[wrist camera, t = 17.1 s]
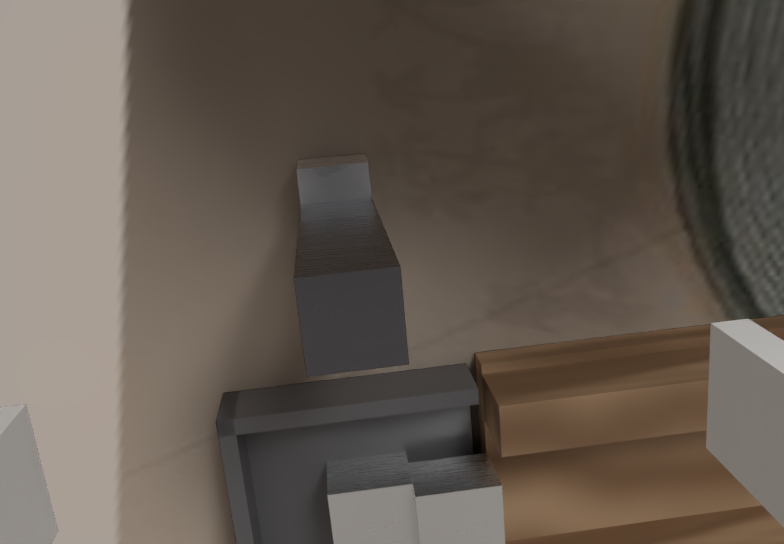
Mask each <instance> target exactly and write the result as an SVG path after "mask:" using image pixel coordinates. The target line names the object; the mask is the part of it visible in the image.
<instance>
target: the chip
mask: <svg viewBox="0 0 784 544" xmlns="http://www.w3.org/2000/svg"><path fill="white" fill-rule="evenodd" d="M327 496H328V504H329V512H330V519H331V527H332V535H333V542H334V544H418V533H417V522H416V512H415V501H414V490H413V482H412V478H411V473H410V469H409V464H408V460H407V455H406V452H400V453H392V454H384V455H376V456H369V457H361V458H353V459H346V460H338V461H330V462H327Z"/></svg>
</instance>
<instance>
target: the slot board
mask: <svg viewBox="0 0 784 544" xmlns="http://www.w3.org/2000/svg"><path fill="white" fill-rule="evenodd" d="M750 320H751V321H753V322H754V323H756V324H758V325H759V326H761V327H762V328H764V329H766V330H767V331H769V332H770V333H772V334H774V335H775V336H777V337H778V338H780V339H782V340H783V341H784V315H782V316H773V317H765V318H757V319H750ZM710 330H711V324H708V325H699V326H691V327H683V328H675V329H667V330H658V331H650V332H642V333H634V334H625V335H617V336H609V337H601V338H593V339H584V340H576V341H568V342H560V343H551V344H543V345H535V346H527V347H519V348H510V349H502V350H494V351H486V352H478V353H475V362H476V379H477V387H478V393H479V404H478V411H479V427H480V443H481V453H488V454H489V456H490V459H491V461H492V463H493V466H494V468H495V470H496V473H497V475H498V477H499V480H500V482H501V484H502V493H503V511H504V529H505V544H784V527H783V526H782V525H781V524H780V523H779V522H778V521H777V520H776V519H775V518H774V517H773V516H772V515H771V514H770V513H769V512H768V511H767V510H766V509H765V508H764V507H763V506H762V505H761V504H760V503H759V502H758V501H757V499H756V498H755V497H754V496H753V495H752V494H751V493H750V492H749V491H748V490H747V489H746V488H745V487H744V486H743V485H742V484H741V483H740V482H739V481H738V480H737V479H736V478H735V477H734V476H733V475H732V474H731V473H730V472H729V471H728V470H727V469H726V468H725V467H724V466H723V465H722V464H721V463H720V461H719V460H718V459H717V458H716V457H715V456H714V455H713V454H712V453H711V452H710V451H709V450H708V449H707V448H706V435H707V409H708V383H709V356H710Z"/></svg>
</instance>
